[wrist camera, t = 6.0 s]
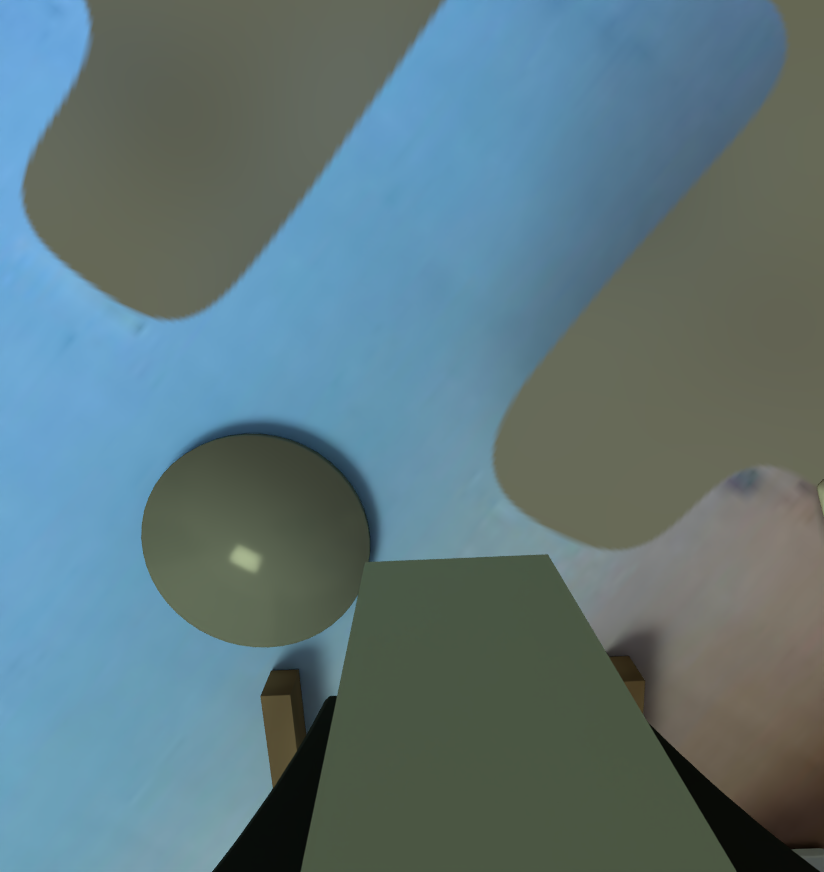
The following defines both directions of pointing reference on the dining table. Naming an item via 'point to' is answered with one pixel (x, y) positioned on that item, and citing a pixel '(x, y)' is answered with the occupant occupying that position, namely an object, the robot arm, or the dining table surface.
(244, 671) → the dining table surface
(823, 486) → the jar
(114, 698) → the dining table surface
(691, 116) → the dining table surface
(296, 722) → the brown u-shaped frame
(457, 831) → the block
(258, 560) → the olive flat disc
